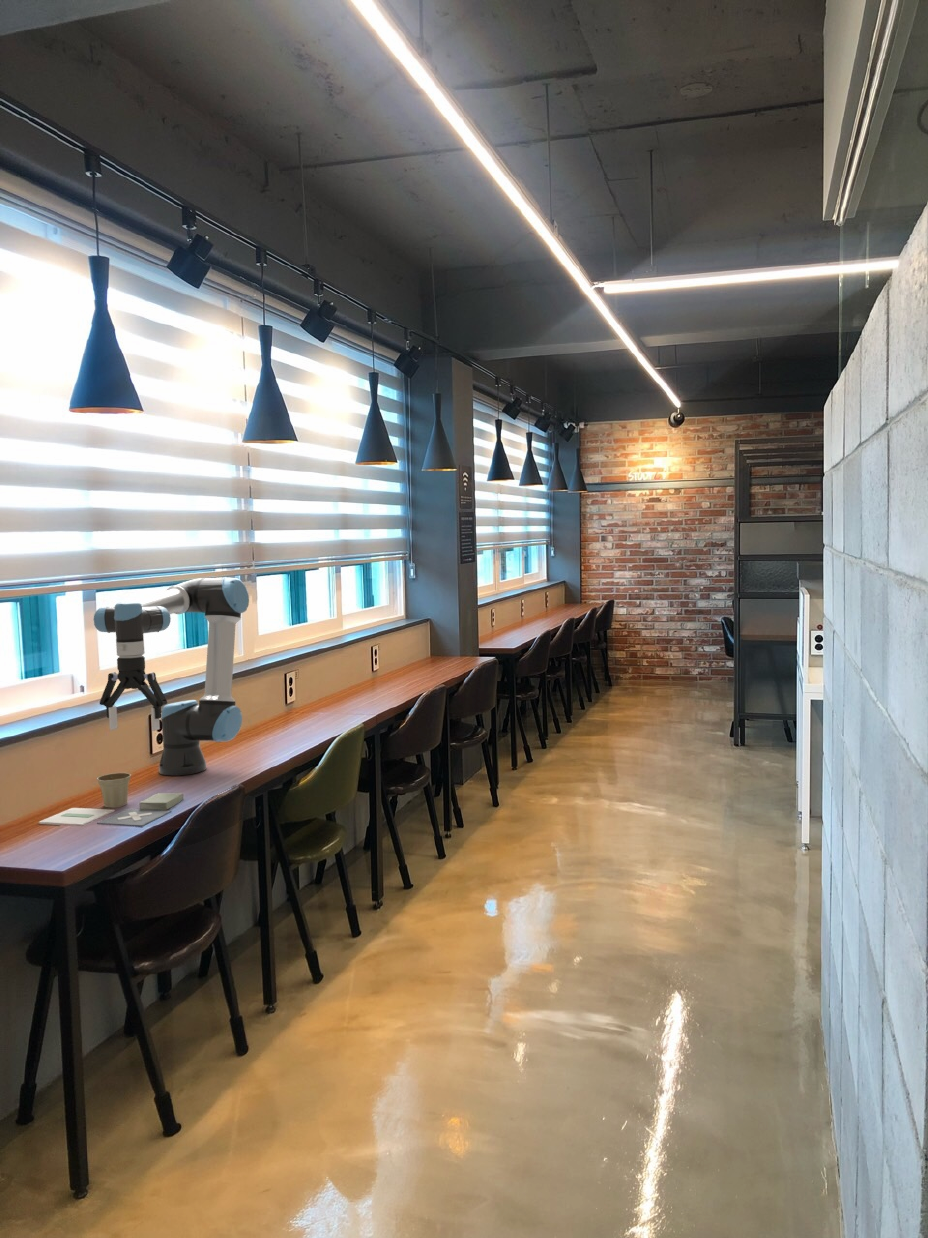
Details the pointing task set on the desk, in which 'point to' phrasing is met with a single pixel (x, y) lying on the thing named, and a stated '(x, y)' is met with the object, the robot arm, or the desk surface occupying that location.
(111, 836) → the desk surface
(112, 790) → the flower pot
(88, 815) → the pad
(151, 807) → the notebook
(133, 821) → the pad
